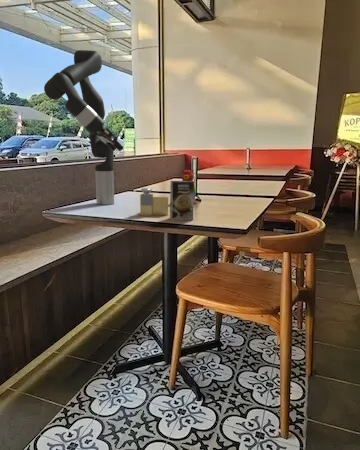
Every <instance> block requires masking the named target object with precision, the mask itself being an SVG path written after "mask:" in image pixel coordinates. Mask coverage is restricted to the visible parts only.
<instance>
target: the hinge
mask: <svg viewBox="0 0 360 450" xmlns="http://www.w3.org/2000/svg"><path fill="white" fill-rule="evenodd" d="M139 197H140V200H139V201H140V204H139V206H140V216H145V217H147V216H148V217H149V216H150V217H151V216H153V215H154V216H168V215H169V197H168V196H154V194H153V193H149V195H144V194H143V193H141V194H140V195H139Z"/></svg>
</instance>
